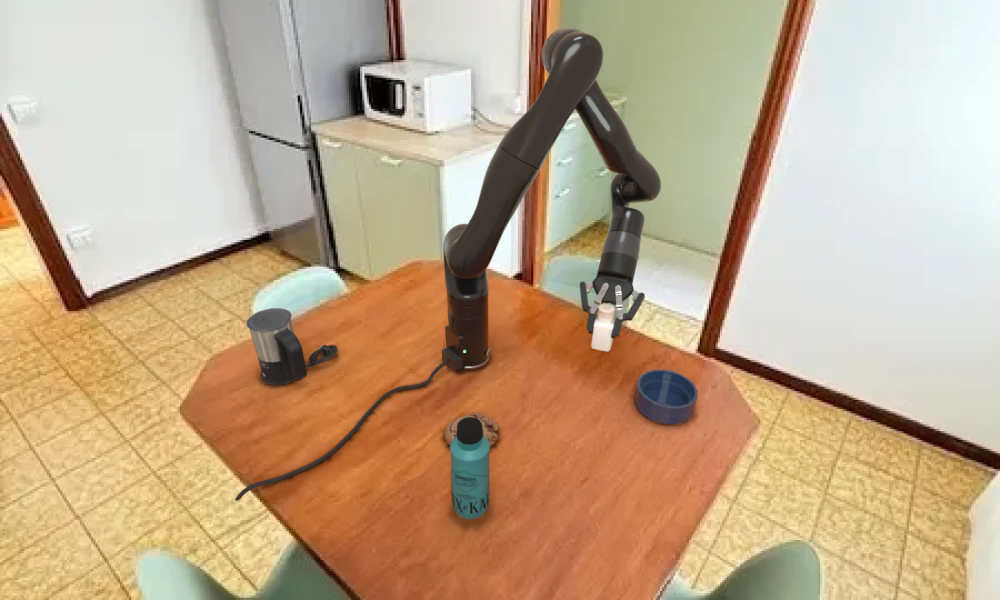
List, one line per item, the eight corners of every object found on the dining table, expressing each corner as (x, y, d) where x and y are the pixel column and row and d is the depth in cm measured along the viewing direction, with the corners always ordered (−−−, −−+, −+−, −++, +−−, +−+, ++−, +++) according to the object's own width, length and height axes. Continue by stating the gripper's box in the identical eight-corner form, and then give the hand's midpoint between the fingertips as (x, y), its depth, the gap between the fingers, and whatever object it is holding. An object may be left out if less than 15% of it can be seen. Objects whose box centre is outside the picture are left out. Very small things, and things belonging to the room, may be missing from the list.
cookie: (438, 427, 109) (438, 416, 108) (487, 412, 113) (487, 402, 111) (455, 462, 101) (454, 450, 100) (506, 445, 105) (506, 434, 103)
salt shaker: (612, 342, 114) (618, 304, 110) (609, 353, 111) (615, 314, 106) (593, 338, 116) (598, 301, 111) (590, 349, 112) (594, 311, 107)
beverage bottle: (451, 495, 95) (446, 410, 85) (489, 493, 95) (489, 408, 85) (452, 528, 89) (446, 441, 79) (492, 525, 90) (492, 438, 79)
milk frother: (252, 379, 121) (236, 324, 114) (299, 341, 134) (287, 290, 126) (303, 395, 117) (290, 340, 109) (347, 355, 129) (338, 302, 122)
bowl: (668, 435, 108) (673, 416, 105) (622, 402, 116) (625, 384, 113) (705, 409, 114) (709, 391, 111) (658, 379, 122) (662, 362, 120)
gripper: (584, 245, 112) (565, 324, 108) (654, 256, 108) (637, 339, 104) (587, 257, 119) (569, 332, 115) (653, 268, 115) (637, 346, 111)
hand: (602, 335), depth 110 cm, fingers closed on salt shaker, 4 cm apart
